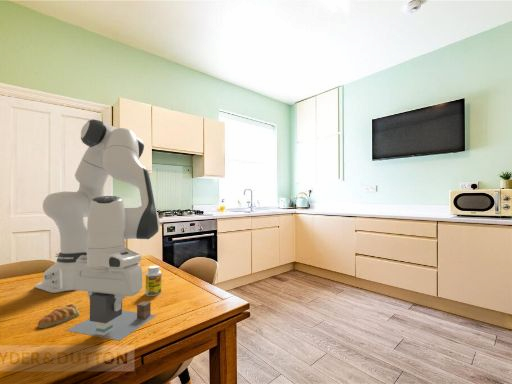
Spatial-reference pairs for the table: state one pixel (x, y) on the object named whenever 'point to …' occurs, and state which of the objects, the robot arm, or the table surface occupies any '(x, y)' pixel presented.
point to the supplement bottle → (153, 281)
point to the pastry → (59, 316)
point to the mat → (120, 326)
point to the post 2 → (143, 310)
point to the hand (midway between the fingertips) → (106, 308)
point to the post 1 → (104, 327)
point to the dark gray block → (103, 307)
